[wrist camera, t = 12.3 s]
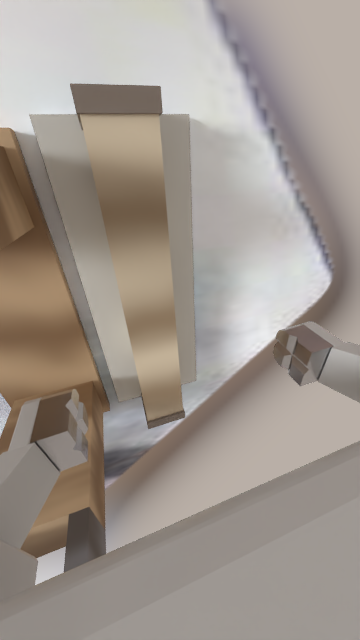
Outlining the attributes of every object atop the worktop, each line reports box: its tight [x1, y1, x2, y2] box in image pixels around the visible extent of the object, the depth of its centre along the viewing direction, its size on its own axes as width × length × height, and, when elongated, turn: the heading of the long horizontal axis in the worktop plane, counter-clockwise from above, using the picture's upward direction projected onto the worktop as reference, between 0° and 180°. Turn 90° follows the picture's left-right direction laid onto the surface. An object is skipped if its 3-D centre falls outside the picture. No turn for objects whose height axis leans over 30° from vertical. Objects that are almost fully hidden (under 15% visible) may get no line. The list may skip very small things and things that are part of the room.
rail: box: [70, 84, 185, 429], centre depth 16 cm, size 22×3×3 cm, turn 3°
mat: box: [29, 114, 196, 402], centre depth 17 cm, size 21×8×1 cm, turn 3°
